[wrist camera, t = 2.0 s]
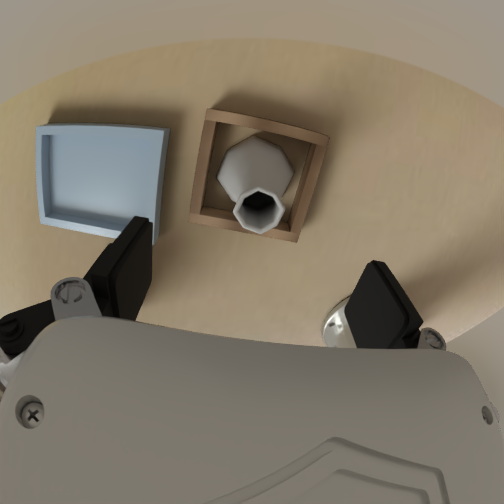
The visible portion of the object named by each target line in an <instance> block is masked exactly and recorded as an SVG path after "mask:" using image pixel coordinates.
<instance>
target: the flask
mask: <svg viewBox="0 0 504 504" xmlns="http://www.w3.org/2000/svg"><path fill="white" fill-rule="evenodd" d="M293 174H294V170H293V168H292V166H291V164H290V163H289V161H288V159H287V157H286V155H285V153H284V152H283V150H282V148H281V147H280V146H277V145H275V144H273V143H270V142H268V141H266V140H263V139H261V138H259V137H256V136H254V135H253V136H251V137H249V138H247V139H245V140H244V141H242V142H240V143H238V144H237V145H235V146H233V147H231V148H230V149H228V150H227V151H226V153H225V156H224V158H223V161H222V163H221V165H220V168H219V170H218V173H217V175H216V177H217V179H218V180H219V182H220V183H221V185H222V186H223V188H224V190H225V191H226V193H227V194H228V196H229V197H230V199H231V200H232V201H234V202H236V205H235V207H234V210H233V213H234V215H235V216H236V218H237V219H238V221H239V222H240V224H241V226H242V227H243V228H245V229H248V230H250V231H253V232H256V233H258V234H262V233H264V232H266V231H268V230H270V229H272V228H274V227H276V226H277V225H278V223H279V221H280V219H281V218H282V216H283V214H284V212H285V210H286V209H285V207H284V205H283V203H282V201H281V198H282V197H283V195H284V193H285V191H286V189H287V187H288V185H289V183H290V180H291V178H292V176H293Z"/></svg>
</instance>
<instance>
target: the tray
mask: <svg viewBox="0 0 504 504" xmlns="http://www.w3.org/2000/svg"><path fill="white" fill-rule="evenodd" d="M169 135H170V129H169V128H160V127H150V126H139V125H125V124H105V123H51V124H44V125H40V126H36V182H37V196H38V206H39V215H40V223H41V224H46V225H51V226H56V227H61V228H66V229H71V230H75V231H80V232H85V233H90V234H95V235H100V236H105V237H110V238H117V237H118V236H119V235H120V233H121V232H122V231H123V230H124V228H125V227H126V226H127V225H128V223H129V222H130V221H131V220H132V219H133V217H134V216H140V217H146V218H149V222H153V240H152V246H154V244H155V242H156V241H157V239H158V237H159V226H160V212H161V200H162V190H163V180H164V171H165V163H166V155H167V148H168V141H169Z"/></svg>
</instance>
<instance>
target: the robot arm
mask: <svg viewBox="0 0 504 504" xmlns="http://www.w3.org/2000/svg"><path fill="white" fill-rule="evenodd" d="M152 240H153V222H149V218H146V217H140V216H134V217H133V219H132V220H131V221H130V222H129V223H128V225H127V226H126V227H125V228H124V230H123V231H122V232H121V233H120V235H119V236H118V237H117V238H116V240H115V241H114V242H113V243H110V244H109V245H108V246H107V247H106V248H105V249H104V251H103V252H102V253H101V255H100V256H99V257H98V259H97V260H96V261H95V263H94V264H93V265H92V267H91V268H90V269H89V271H88V272H87V274H86V275H85V276H84V278H83V279H82V278H79V277H69V278H65V279H62V280H60V281H59V282H57V283H56V284H55V285H54V286H53V288H52V290H51V299H50V300H48V301H45V302H42V303H39V304H36V305H33V306H30V307H27V308H24V309H21V310H19V311H16V312H13V313H10V314H8V315H6V316H4V317H3V318H1V319H0V504H504V439H503V436H502V433H501V430H500V427H499V424H498V423H499V414H498V411H497V409H496V408H495V407H494V406H493V404H492V403H491V402H490V401H489V399H488V397H487V394H486V392H485V390H484V388H483V386H482V384H481V382H480V380H479V378H478V377H477V375H476V373H475V371H474V370H473V368H472V367H471V365H470V364H469V362H468V361H467V360H466V359H464V358H463V357H461V356H459V355H457V354H455V353H452V352H449V351H446V343H445V340H444V339H443V337H442V336H441V335H440V334H439V333H438V332H437V331H436V330H434V329H432V328H428V327H427V328H423V329H422V330H421V332H420V330H419V328H420V326H421V325H422V324H423V320H422V318H421V317H420V315H419V314H418V312H417V310H416V309H415V307H414V305H413V304H412V302H411V301H410V299H409V298H408V296H407V295H406V293H405V291H404V290H403V288H402V287H401V285H400V284H399V282H398V281H397V279H396V278H395V277H394V275H393V274H392V272H391V271H390V269H389V268H388V266H387V265H386V264H385V263H384V262H380V261H376V260H373V261H371V262H370V263H368V264H367V265H366V267H365V269H364V271H363V273H362V275H361V277H360V279H359V281H358V283H357V285H356V287H355V289H354V291H353V293H352V295H351V297H349V298H347V299H345V300H344V301H342V302H341V303H339V304H338V305H337V306H336V307H335V308H334V309H333V310H332V311H331V312H330V313H329V314H328V316H327V317H326V319H325V321H324V324H323V326H322V336H323V340H324V343H325V345H326V346H327V347H318V346H304V345H292V344H281V343H272V342H263V341H254V340H246V339H239V338H231V337H224V336H217V335H211V334H204V333H198V332H192V331H187V330H181V329H176V328H170V327H165V326H160V325H154V324H149V323H143V322H138V321H135V320H136V318H137V315H138V313H139V310H140V308H141V305H142V303H143V301H144V298H145V296H146V293H147V291H148V289H149V286H150V284H151V279H152Z"/></svg>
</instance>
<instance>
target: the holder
mask: <svg viewBox="0 0 504 504" xmlns="http://www.w3.org/2000/svg"><path fill="white" fill-rule="evenodd" d="M218 122H223V123H228V124H234V125H239V126H244V127H249V128H254V129H259V130H263V131H268V132H272V133H276V134H280V135H284V136H288V137H292V138H296V139H300V140H303V141H307V142H311V144H310V148H309V151H308V155H307V158H306V162H305V165H304V169H303V172H302V176H301V179H300V182H299V186H298V189H297V193H296V196H295V199H294V203H293V206H292V210H291V213H290V216H289V219H288V223H286V222H281V221H279V223H278V225H277V226H276V227H274V228H272V229H270V230H268V231H266V232H264V233H262V234H258V233H256V232H253V231H250V230H248V229H245V228H243V227H242V226H241V224H240V222H239V221H238V219H237V218H236V216H235V215H234V213H233V212H231V211H226V210H220V209H215V208H209V207H204V206H203V203H204V197H205V191H206V185H207V179H208V173H209V168H210V162H211V157H212V152H213V146H214V141H215V136H216V131H217V126H218ZM329 139H330V137H328V136H326V135H324V134H321V133H317V132H314V131H310V130H307V129H303V128H300V127H296V126H292V125H288V124H285V123H281V122H276V121H272V120H268V119H264V118H259V117H254V116H250V115H245V114H239V113H234V112H228V111H223V110H216V109H207V111H206V116H205V121H204V126H203V131H202V137H201V142H200V148H199V153H198V159H197V165H196V171H195V178H194V184H193V191H192V198H191V205H190V213H189V220H188V222H191V223H196V224H202V225H207V226H213V227H218V228H223V229H229V230H234V231H239V232H245V233H250V234H255V235H260V236H265V237H270V238H276V239H281V240H286V241H291V242H296V243H297V241H298V238H299V235H300V232H301V229H302V226H303V223H304V220H305V217H306V214H307V211H308V208H309V205H310V201H311V198H312V195H313V192H314V189H315V185H316V182H317V179H318V176H319V172H320V169H321V166H322V162H323V159H324V156H325V152H326V149H327V146H328V142H329Z"/></svg>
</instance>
